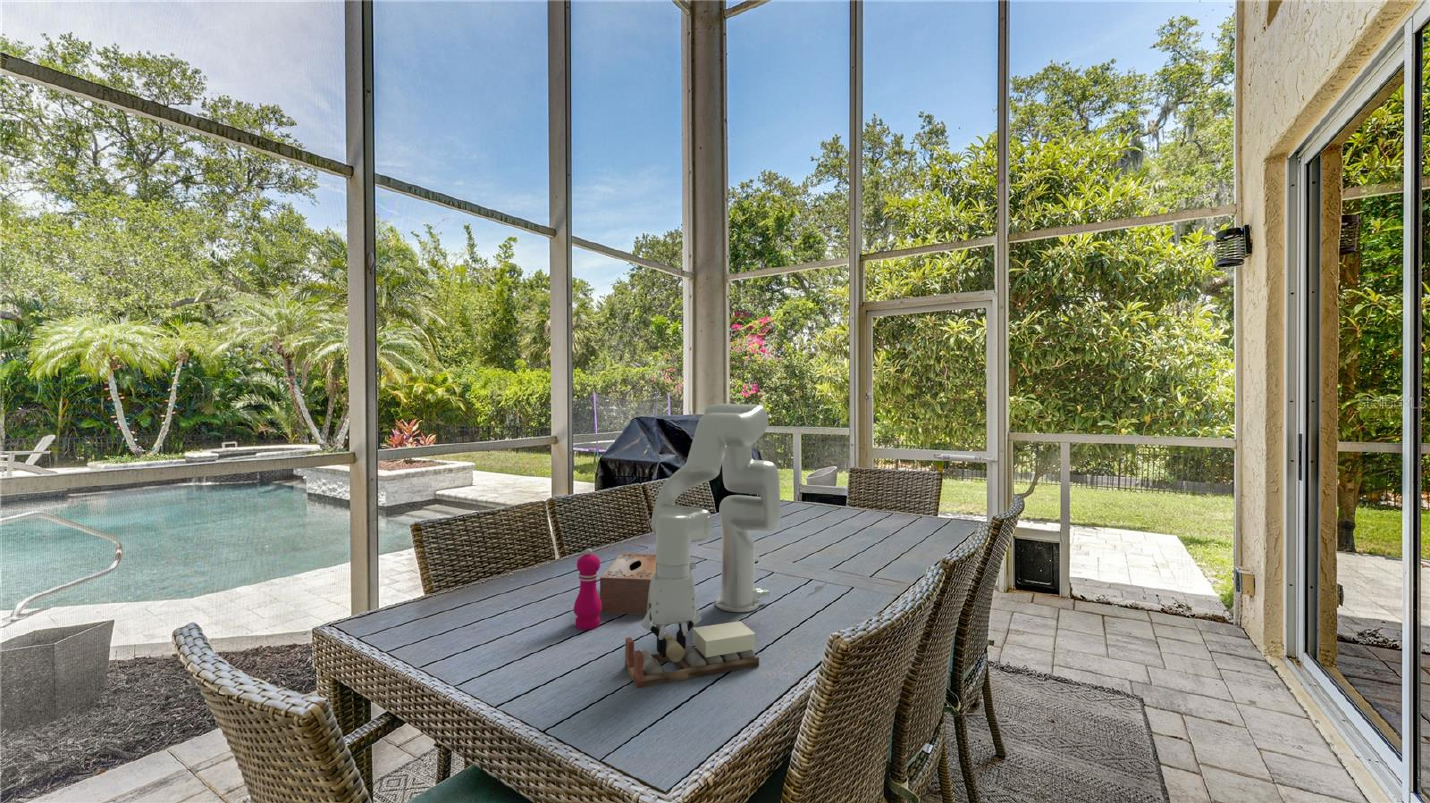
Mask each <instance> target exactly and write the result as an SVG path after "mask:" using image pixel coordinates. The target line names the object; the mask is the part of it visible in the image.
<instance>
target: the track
mask: <svg viewBox="0 0 1430 803" xmlns="http://www.w3.org/2000/svg"><path fill="white" fill-rule="evenodd" d="M624 645H625V650H624V656H625V658H624V668H625V670H626V671H627V673H628V676H630V678H631V679H632V681H633V683H634V685H635V687H636V689H639V688H644V687H645V688H646V687H650V686H656V685H661V684H668V683H673V682H678V681H683V680H684V681H685V680H688V679H689V680H690V679H696V678H701V677H706V676H711V675H718V674H724V673H729V672H730V673H731V672H734V671H735V672H736V671H739V670H740V671H741V670H745V669H751V668H756V667H760V657H759V656H757V655H756V653H755V652H754V650H748V651H742V652H736V653H730V654H724V655H718V656H712V657H705V656H704V655H703V654H702V653H701V652H700V651H699V650H698V649H697V647H696V646H694V647H693V646H692V645H691V644H690V643H686V648H685V649H684V656H683V658H682V659H681V660H680V661H678V662H675V664H676V665H677V666H678V668H679V669H677V670H671V671H667V672H666V671H665V670H664V668H663V666H662V665H661V664H662V663H666V662H667V663H668V662H672V661H671V660H670V659H669V657H668V656H667V655H666V657H665V658H662V657H661V655H660V654H659V653H658V652H656V653H650V652H649V651H648V650H646V649H641V650H635V641H634V640H633V638H632V637H631V636H630V637H625V644H624ZM660 663H661V664H660Z"/></svg>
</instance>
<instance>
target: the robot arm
mask: <svg viewBox="0 0 1430 803" xmlns="http://www.w3.org/2000/svg"><path fill="white" fill-rule="evenodd" d="M768 422H769V415H768V412H767V410H766V409H765V407H764V406H762V405H759V404H754V403H753V404H750V403H749V404H747V403H746V404H745V403H744V404H743V403H742V404H741V403H739V404H738V403H714V404H711V405H708V406H707V407H706V408H705V410H704V415H702V416H701V417H700V418H699V420H698V422H697V425H696V429H695V431H694V435H693V440H692V442H691V446H690V447H689V448H690V449H689V452H688V456H687V459H686V462H685V464H684V465H683V466H682V467H680V468H678V469H677V470H676V471H675V472H674V473H673V474H672V475H671V476H670V477H669V478H668V479H667V480H666V481H664V483H663V484H662V486H661V487H660V489H659V491H658V494H657V497H656V500H655V503H654V506H653V510H652V515H651V521H650V523H651V528H652V529H651V530H652V531H653V532H654V534H655V535H656V537H655V538H656V539H655V543H656V544H655V554H656V573H655V575H652V577H651V581H650V587H649V593H648V602H647V614H646V615H644V618H643V620H642V622H641V624H640V625H641V627H642V628H643V629H645V630H647V631H649V632H651V633H653V634H654V636H656V653H659V654H660V655H661V657H662V658H665V657H666V639H665V638H664V634H666V632H665V631H666V626H668V625H674V624H677V626H678V631H676V635H675V637H676V638H675V639H676V641H677V642H678V643H679V644H680V645H681V646H682V647H683V649H685V648H686V644H687V643H686V642H687V636H688V635H689V632H690V630H692V629H693V628H694V625H697V624H698V623H699V622H701V620H702V616H701V615H700V612H699V611H698V609H697V605H696V604H697V600H696V590H695V584H694V583H695V582H694V578H693V575H692V570H693V569H694V570H695V569H697V568H696V567H697V564H696V562H692V561H691V543H696V542H702V541H705V540H706V539H707V538H708V537H709V536H710V535H711V534H712V532H713V529H714V525H715V524H714V518H713V515H712V513H711V512H710V511H709V510H708V509H706V508H703V507H696V506H695V507H694V506H686V505H685V506H684V505H675V502H676V500H677V499H678V498H679V496H681V495H682V494H683V493H684V492H686V491H687V490H689V489H691V488H694V487H697V486H698V485H699V486H700V485H702V484H704V483H707V482H710V481H712V480H714V479H716V478H717V477H718V476H719V475H720V473H721V468H722V482H723V485H724V488H725V489H726V490H727V491H729V492H733V493H737V494H734V495H733V494H732V495H728V496H725V497H724V498H723V499H722V500H721V501H720V503H719V508H718V510H719V512H718V515H719V520H720V522H719V523H720V526H721V527H720V528H721V574H720V575H721V576H720V577H721V579H720V582H721V583H720V585H721V586H720V596H718V597H717V598H716V599H715V606H716V608H718V609H720V610H722V611H726V612H731V613H749V612H752V611H755V610H757V609H758V608H760V598H765V597H766V598H767V597H770V590H769V589H763V590H762V589H761V588H755V570H756V569H755V567H756V566H755V565H756V564H755V562H756V544H755V541H754V539H753V536H752V535H751V534H750V531H754V532H764V533H770V532H774V531H776V530H777V529H778V528H779V526H780V521H781V497H780V496H781V495H780V493H781V492H780V491H781V490H780V475H779V470H778V467H777V465H776V464H775V463H773V461H769V460H763V459H762V460H759V459H754V458H753V456H752V445H753V444H754V443H755V442H757V440H759V439H760V438H761V437H762V436H763V435H764V434H765V432H766V431H767V428H768ZM742 494H749V495H742ZM751 495H759V496H751Z"/></svg>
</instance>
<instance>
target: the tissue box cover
mask: <svg viewBox="0 0 1430 803" xmlns="http://www.w3.org/2000/svg"><path fill="white" fill-rule="evenodd" d="M655 573H656V553H655V554H653V553H633V552H632V553H630V552H629V553H627V552H621V553H620V554H619V555H618V556H617V557H616V558H615V559H614V560H613V562H612V563H611V564H610V565H609V567H608V568H607V569H606V570H605V571H604V572H603V574H602V575H601V576H600V577H599V597H600V600H601V603H602V611H601V613H600V614H620V615H642V616H646V614H647V602H648V593H649V587H650V581H651V577H652V575H655Z"/></svg>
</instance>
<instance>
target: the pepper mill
mask: <svg viewBox="0 0 1430 803" xmlns="http://www.w3.org/2000/svg"><path fill="white" fill-rule="evenodd" d="M584 552H585V554H583V555H581V556H580V557H579V558H578V559H577V562H576V569H577V570H578V571H579V573H578V580H579V583H580V584H579V585H580V586H579V591H578V595H577V597H576V599H575V601H574V605H573V613H574V615H575V617H576V618H575V619H574V620H575V623H574V624H575V627H576V628H577V629H579V630H594V629H596V628H598V627H599V626H600V624H601V617H600V614H602V613H601V611H602V603H601V600H600V594H599V592H598V589H597V581H598V579H599V570H600V568H601V560H600V558H599V557H598V556H597V555H595V554H593V550H592V548H586V549H585V551H584Z"/></svg>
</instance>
